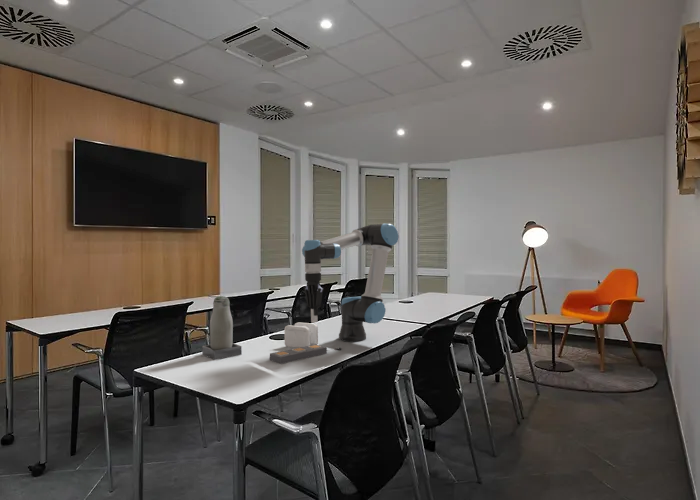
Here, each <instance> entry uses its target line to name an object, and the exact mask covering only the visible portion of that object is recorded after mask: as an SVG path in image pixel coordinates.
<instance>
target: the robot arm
mask: <svg viewBox="0 0 700 500" xmlns="http://www.w3.org/2000/svg"><path fill="white" fill-rule="evenodd" d="M398 241H399V232H398V229H397V227H395V225H393V224H392V223H378V224H376V223H375V224H374V223H373V224H368V225H365V226H362V227H359V228H357V229H353V230H352V231H351V232H349V233H345V234H342V235H339V236H336V237H331V238H329V239H324V240H319V239H307V240H304V242H303V243H304V245H303V247H302V249H301V252H302V256H303V257H304V271H305V274H304V281H305V282H306V285H305V286H303V291H304V295H305V301H306V306H307V307H308V308H309V309H310V322H311V324H316V323H318V322H319V321H318V316H319V312H318V311H319V309H320V308H321V307H322V301H323V294H324V291H325V289H324V287H321V283H320V282H321V281H322V273H321V272H322V262H321V261H322V260H334V259H338V258H340V257H341V255H342V250H345V249H346V250H347V249H349V248H353V247H363V246H370V247H371V249H372V252H371V258H370V263H369V269H368V274H367V278H366V279H367V280H366V285H365V291H364V293H363V294H361V296H351V297H343V298H342V299H341V305H340V306H341V309H340V310H341V327H340V330H339V333H338V340H340V341H344V342H361V341H365V340H366V339H367V333H366V331H365V327H364V323H367V324H379V323H380V322H381V321H382V320H383V319H384V317H385V315H386V306H385V304H384V303H383V301H384V299H383V297H382V290H383V284H384V279H385V273H386V268H387V262H388V258H389V257H388V256H389V252H391V251H392V250H393V246H395V245H396V244H397V243H398Z"/></svg>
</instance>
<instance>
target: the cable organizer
mask: <svg viewBox="0 0 700 500" xmlns="http://www.w3.org/2000/svg"><path fill="white" fill-rule="evenodd" d="M314 344H316V345H319V327H318V325H317V324H316V323H309V322H296V323H294V325H291V324H288V325H286V326H285V327H284V345H285V347H287V348H288V347H293V348H300V347H305V346H310V345H314Z"/></svg>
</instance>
